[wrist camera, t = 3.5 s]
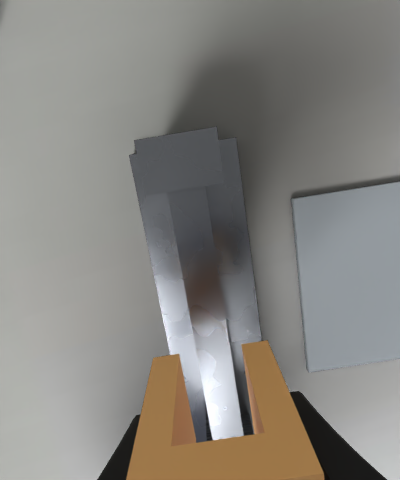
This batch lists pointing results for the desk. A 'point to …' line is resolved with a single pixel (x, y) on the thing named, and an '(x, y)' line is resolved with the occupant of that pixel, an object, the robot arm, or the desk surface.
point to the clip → (230, 449)
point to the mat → (349, 275)
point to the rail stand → (201, 270)
